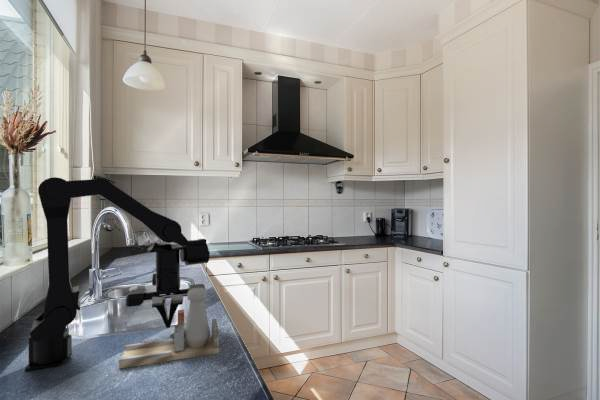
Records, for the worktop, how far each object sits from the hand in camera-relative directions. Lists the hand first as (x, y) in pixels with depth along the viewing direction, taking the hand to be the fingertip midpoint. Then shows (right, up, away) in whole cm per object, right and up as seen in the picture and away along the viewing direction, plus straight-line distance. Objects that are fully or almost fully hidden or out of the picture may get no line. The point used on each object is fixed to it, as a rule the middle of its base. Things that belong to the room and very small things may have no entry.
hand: (168, 327), depth 83 cm
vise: (+5, -2, -11) cm, 12 cm away
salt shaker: (+10, -1, -9) cm, 14 cm away
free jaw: (+5, 0, -5) cm, 7 cm away
